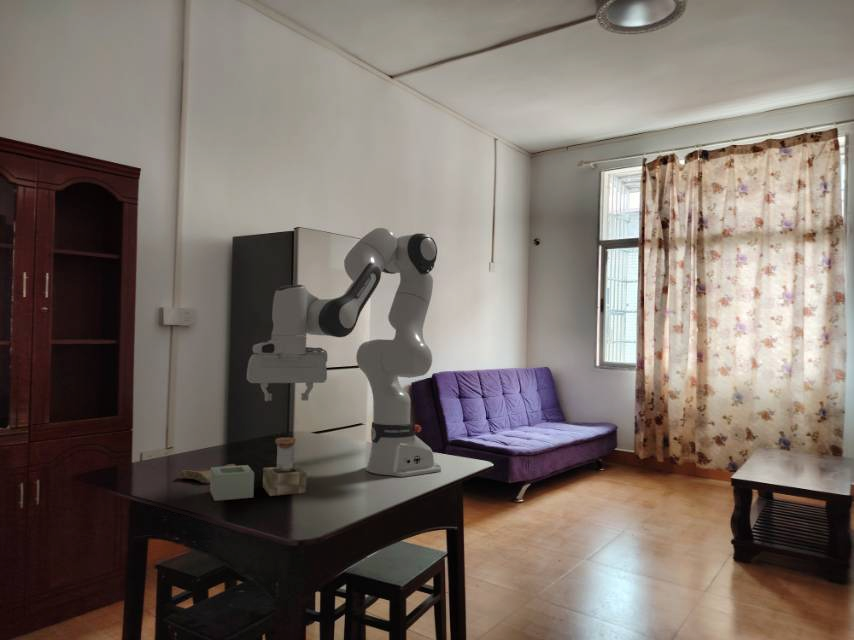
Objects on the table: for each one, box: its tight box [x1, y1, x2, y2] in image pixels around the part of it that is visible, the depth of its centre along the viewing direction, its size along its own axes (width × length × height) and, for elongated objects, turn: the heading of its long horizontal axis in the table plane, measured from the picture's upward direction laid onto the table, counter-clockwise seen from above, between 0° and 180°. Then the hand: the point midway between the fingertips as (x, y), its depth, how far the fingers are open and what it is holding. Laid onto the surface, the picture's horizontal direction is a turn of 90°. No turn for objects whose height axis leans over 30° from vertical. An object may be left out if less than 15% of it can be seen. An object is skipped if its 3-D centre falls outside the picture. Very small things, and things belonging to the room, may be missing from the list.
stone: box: [179, 463, 236, 484], centre depth 168 cm, size 11×16×3 cm
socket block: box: [209, 464, 255, 502], centre depth 152 cm, size 9×9×6 cm
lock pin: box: [275, 437, 296, 473], centre depth 158 cm, size 5×5×13 cm
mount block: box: [262, 465, 307, 497], centre depth 157 cm, size 9×9×5 cm
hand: (286, 400), depth 158 cm, fingers open, 8 cm apart
